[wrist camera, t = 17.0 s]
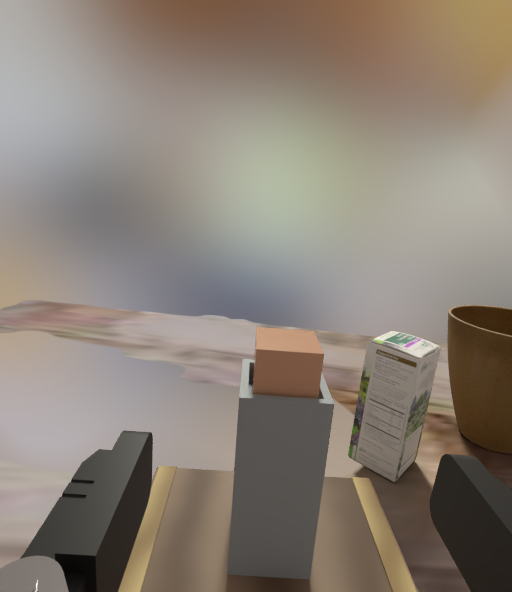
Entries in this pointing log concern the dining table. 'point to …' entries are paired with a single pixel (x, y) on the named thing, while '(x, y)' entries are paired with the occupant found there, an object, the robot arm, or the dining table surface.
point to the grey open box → (277, 481)
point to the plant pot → (482, 374)
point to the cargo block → (287, 363)
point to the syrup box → (393, 402)
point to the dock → (216, 535)
